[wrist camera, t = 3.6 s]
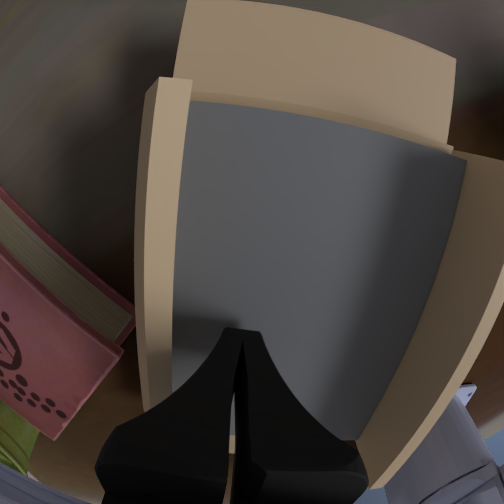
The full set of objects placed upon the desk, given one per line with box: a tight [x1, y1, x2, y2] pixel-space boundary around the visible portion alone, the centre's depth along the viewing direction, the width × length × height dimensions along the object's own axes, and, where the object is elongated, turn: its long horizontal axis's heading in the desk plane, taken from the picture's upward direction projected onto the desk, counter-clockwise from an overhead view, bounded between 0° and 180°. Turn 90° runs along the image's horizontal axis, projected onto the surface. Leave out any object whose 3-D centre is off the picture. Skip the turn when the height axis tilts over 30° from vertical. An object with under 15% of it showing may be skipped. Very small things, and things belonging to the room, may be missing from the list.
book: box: [0, 185, 136, 441], centre depth 18 cm, size 14×15×5 cm
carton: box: [172, 0, 467, 454], centre depth 15 cm, size 24×12×6 cm, turn 172°
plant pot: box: [0, 399, 39, 477], centre depth 20 cm, size 9×9×9 cm
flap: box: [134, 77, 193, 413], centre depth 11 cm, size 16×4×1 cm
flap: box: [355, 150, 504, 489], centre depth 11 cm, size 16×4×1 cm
